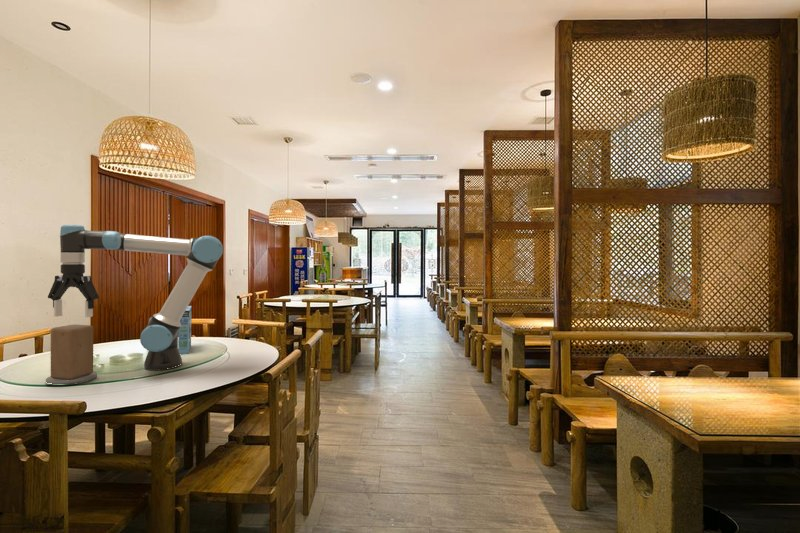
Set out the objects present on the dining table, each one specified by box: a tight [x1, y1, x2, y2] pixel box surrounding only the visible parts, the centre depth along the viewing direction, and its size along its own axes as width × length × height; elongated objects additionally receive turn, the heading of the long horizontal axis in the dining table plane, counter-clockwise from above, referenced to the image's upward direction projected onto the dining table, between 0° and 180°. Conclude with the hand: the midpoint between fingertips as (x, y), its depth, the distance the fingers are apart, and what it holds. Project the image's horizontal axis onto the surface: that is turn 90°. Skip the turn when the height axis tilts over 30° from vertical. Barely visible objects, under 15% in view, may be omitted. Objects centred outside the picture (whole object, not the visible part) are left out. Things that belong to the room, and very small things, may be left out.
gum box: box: [178, 305, 193, 355], centre depth 215 cm, size 20×5×23 cm, turn 24°
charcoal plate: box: [45, 370, 98, 385], centre depth 160 cm, size 16×16×2 cm
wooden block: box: [50, 323, 94, 380], centre depth 160 cm, size 10×10×20 cm
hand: (73, 316), depth 160 cm, fingers open, 13 cm apart
